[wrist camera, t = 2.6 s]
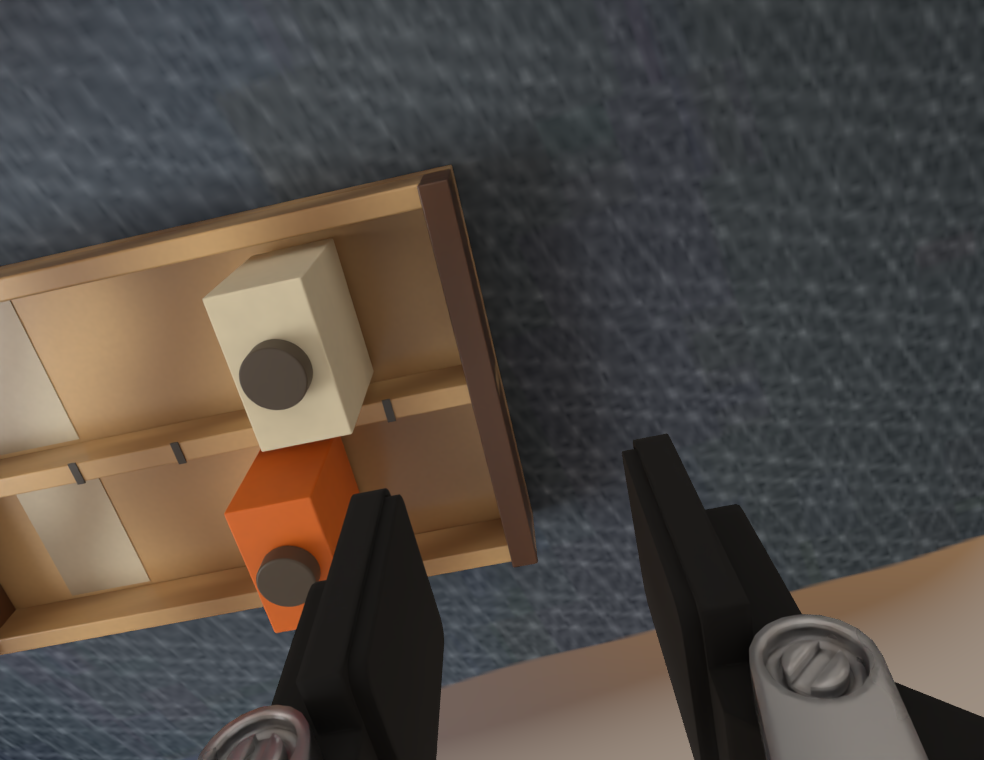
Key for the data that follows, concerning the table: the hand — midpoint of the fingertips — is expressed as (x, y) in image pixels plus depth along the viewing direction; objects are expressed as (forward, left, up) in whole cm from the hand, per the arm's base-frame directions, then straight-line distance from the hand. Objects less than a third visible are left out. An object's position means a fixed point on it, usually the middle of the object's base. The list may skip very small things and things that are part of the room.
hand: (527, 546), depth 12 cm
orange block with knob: (+9, +7, -16) cm, 20 cm away
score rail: (+13, +4, -17) cm, 22 cm away
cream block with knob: (+7, 0, -16) cm, 17 cm away
